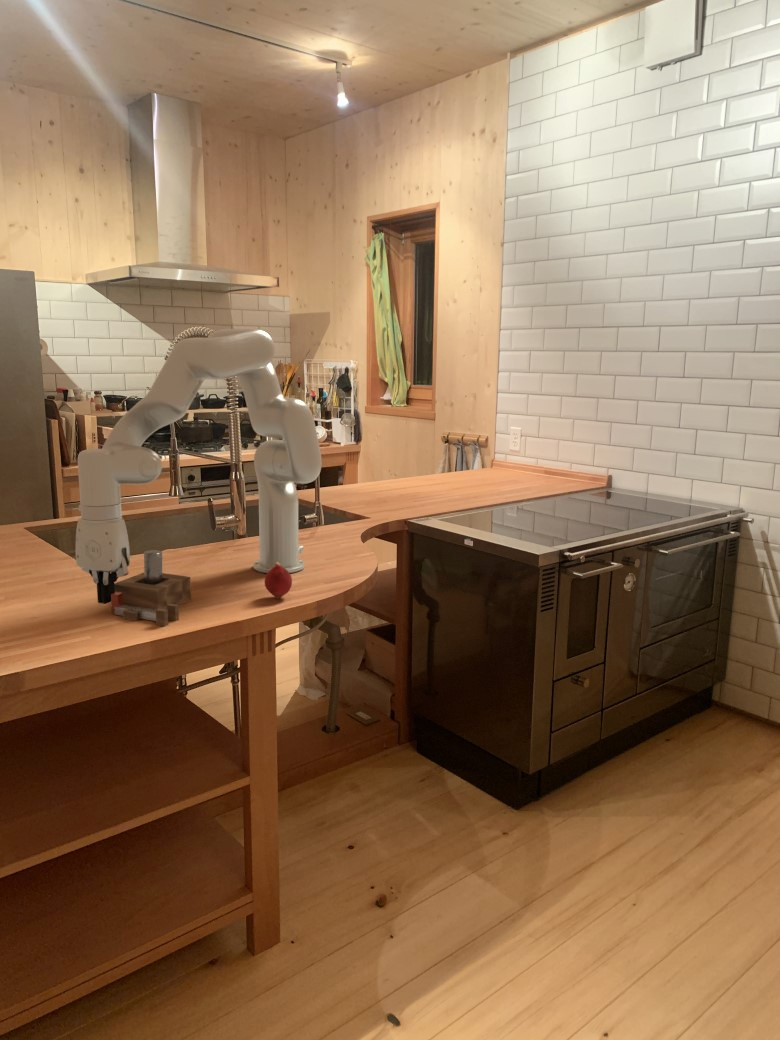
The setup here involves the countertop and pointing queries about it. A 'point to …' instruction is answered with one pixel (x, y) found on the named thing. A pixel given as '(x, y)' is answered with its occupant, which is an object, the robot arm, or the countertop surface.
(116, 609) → the lock pin
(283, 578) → the onion
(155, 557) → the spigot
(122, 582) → the dock
